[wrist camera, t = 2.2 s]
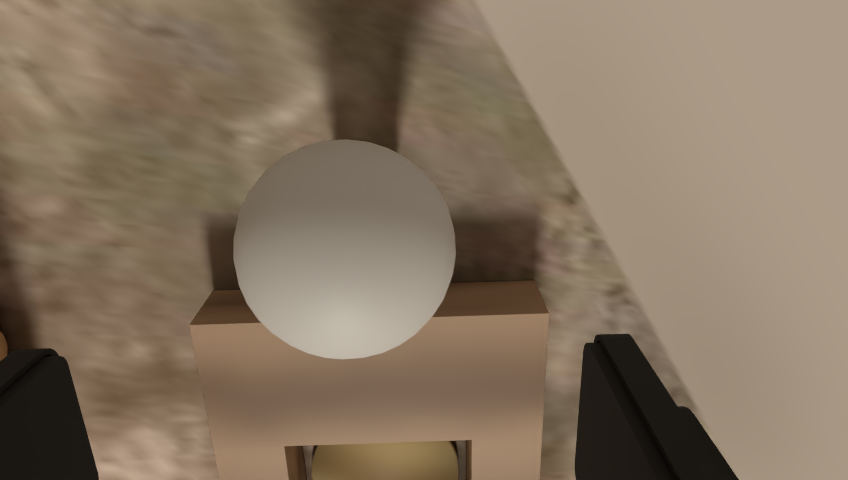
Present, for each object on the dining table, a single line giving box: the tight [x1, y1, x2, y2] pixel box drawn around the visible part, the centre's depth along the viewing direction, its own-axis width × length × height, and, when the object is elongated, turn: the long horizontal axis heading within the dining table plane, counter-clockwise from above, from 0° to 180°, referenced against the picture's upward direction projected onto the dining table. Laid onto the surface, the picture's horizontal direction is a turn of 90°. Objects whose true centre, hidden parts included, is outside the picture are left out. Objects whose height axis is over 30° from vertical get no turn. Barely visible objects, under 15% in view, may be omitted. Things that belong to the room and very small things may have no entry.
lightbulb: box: [233, 139, 456, 359], centre depth 19 cm, size 6×6×11 cm
